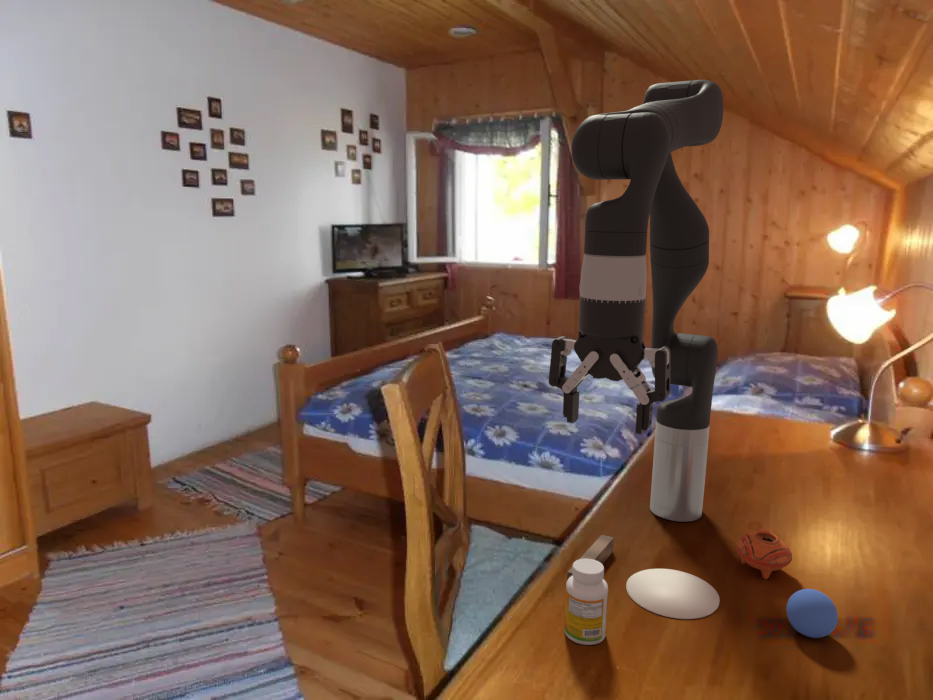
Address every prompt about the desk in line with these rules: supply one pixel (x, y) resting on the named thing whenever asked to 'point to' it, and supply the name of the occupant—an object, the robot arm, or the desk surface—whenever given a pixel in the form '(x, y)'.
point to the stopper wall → (597, 551)
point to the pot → (764, 552)
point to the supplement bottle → (586, 603)
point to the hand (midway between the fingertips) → (605, 426)
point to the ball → (812, 613)
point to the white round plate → (672, 593)
